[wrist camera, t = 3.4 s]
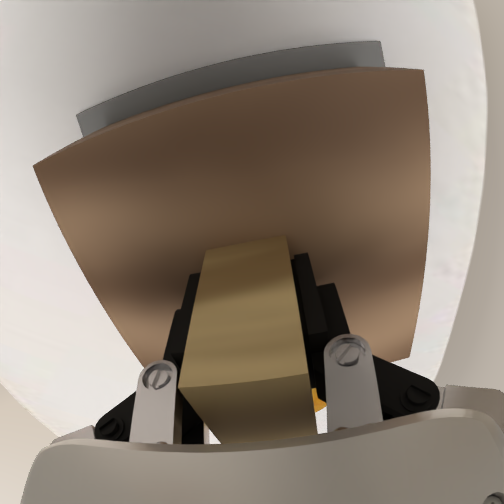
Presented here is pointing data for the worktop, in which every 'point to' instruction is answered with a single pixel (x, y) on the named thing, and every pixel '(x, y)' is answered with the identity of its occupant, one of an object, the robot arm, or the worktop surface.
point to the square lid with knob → (254, 230)
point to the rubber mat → (230, 78)
